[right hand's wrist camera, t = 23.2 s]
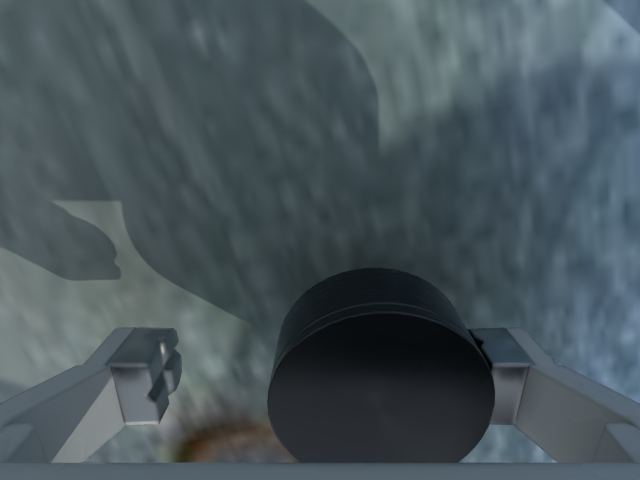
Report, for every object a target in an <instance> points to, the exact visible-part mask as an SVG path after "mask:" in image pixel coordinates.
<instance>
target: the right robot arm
mask: <svg viewBox="0 0 640 480" xmlns="http://www.w3.org/2000/svg"><path fill="white" fill-rule="evenodd" d="M467 330H468V331H469V333H470V335H471V336H472V338H473V340H474V341H475V343H476V345H477V346H478V348H479V350H480V351H481V353H482V355H483V356H484V358H485V360H486V362H487V364H488V366H489V368H490V370H491V373H492V376H493V379H494V386H495V406H494V411H493V416H492V419H491V421H490V424H501V425H515V427H516V428H517V429H519V430H520V431H521V432H522V433H523V434H525V435H526V436H527V437H528V438H529V439H530V440H532V441H533V442H534V443H535V444H536V445H538V446H539V447H540V448H541V449H542V450H543V451H545V452H546V453H547V454H548V455H549V456H551V457H552V458H553V459H554V460H555V461H557V462H558V463H82V462H84V461H85V460H86V459H87V458H88V457H89V456H91V455H92V454H93V453H94V452H95V451H97V450H98V449H99V448H100V447H101V446H103V445H104V444H105V443H106V442H107V441H108V440H110V439H111V438H112V437H113V436H114V435H116V434H117V433H118V432H119V431H120V430H122V429H123V428H124V427H125V425H139V424H159V423H160V421H161V419H162V417H163V415H164V413H165V411H166V409H167V407H168V405H169V399H168V395H170V394H171V393H173V392H174V391H176V388H177V386H178V384H179V382H180V377H181V372H182V360H181V355H180V354H179V353H178V352H177V351H176V350H175V347H176V345H177V343H178V337H177V332H176V330H175V329H174V328H142V327H138V328H136V327H120V328H116V329H115V330H114V331H113V332H112V333H111V334H110V335H109V336H108V337H107V338H106V340H105V341H104V342H103V343H102V344H101V345H100V346H99V347H98V349H97V350H96V351H95V352H94V353H93V354H92V355H91V356H90V358H89V359H88V360H87V361H86V362H85V363H84V364H83V365H76V366H74V367H72V368H70V369H68V370H66V371H64V372H62V373H60V374H58V375H56V376H54V377H52V378H50V379H48V380H46V381H44V382H42V383H40V384H38V385H36V386H34V387H32V388H30V389H28V390H26V391H24V392H22V393H20V394H18V395H16V396H14V397H12V398H10V399H8V400H6V401H4V402H2V403H0V480H640V404H639V403H637V402H635V401H633V400H631V399H629V398H627V397H625V396H623V395H621V394H619V393H617V392H615V391H613V390H611V389H609V388H607V387H605V386H603V385H601V384H599V383H597V382H595V381H593V380H591V379H590V378H588V377H586V376H584V375H582V374H580V373H578V372H576V371H574V370H572V369H570V368H568V367H566V366H564V365H557V364H556V363H555V362H554V361H553V360H552V359H551V358H550V357H549V355H548V354H547V353H546V352H545V351H544V350H543V349H542V348H541V346H540V345H539V344H538V343H537V342H536V341H535V340H534V339H533V337H532V336H531V335H530V334H529V333H528V332H527V331H526V330H525V329H524V328H522V327H508V328H476V329H467Z"/></svg>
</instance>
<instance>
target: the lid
mask: <svg viewBox="0 0 640 480" xmlns="http://www.w3.org/2000/svg"><path fill="white" fill-rule="evenodd" d="M267 404H268V414H269V418H270V422H271V426H272V428H273V430H274V433H275V435H276V437H277V438H278V440H279V442H280V443H281V445H282V446H283V447H284V449H285V450H286V451H287V452H288V453H289V454H290V455H291V456H292V457H293V458H294V459H295V460H296V461H297V462H299V463H458V462H459V461H460V460H462V459H463V458H464V457H465V456H467V455H468V454H469V453H470V452H471V451H472V450H473V449H474V447H475V446H476V445H477V444H478V443H479V441H480V440H481V439H482V437H483V436H484V434H485V432H486V430H487V428H488V427H489V424H490V421H491V419H492V416H493V411H494V406H495V386H494V379H493V376H492V373H491V370H490V368H489V366H488V364H487V362H486V360H485V358H484V356H483V355H482V353H481V351H480V350H479V348H478V346H477V345H476V343H475V341H474V340H473V338H472V336H471V335H470V333H469V331H468V330H467V328H466V326H465V325H464V323H463V321H462V320H461V318H460V316H459V315H458V313H457V311H456V310H455V308H454V306H453V305H452V304H451V302H450V301H449V300H448V298H447V297H446V296H445V295H444V294H443V293H441V292H440V291H439V290H438V289H437V288H436V287H434V286H433V285H431V284H430V283H428V282H427V281H425V280H423V279H421V278H419V277H417V276H414V275H411V274H409V273H406V272H402V271H398V270H393V269H385V268H363V269H355V270H351V271H347V272H342V273H339V274H337V275H334V276H332V277H329V278H327V279H325V280H323V281H321V282H320V283H318V284H316V285H315V286H313V287H312V288H311V289H309V290H308V291H307V292H306V293H304V294H303V295H302V296H301V297H300V298H299V299H298V300H297V301H296V303H295V304H294V305H293V306H292V308H291V309H290V311H289V312H288V314H287V316H286V318H285V320H284V322H283V325H282V327H281V331H280V335H279V340H278V345H277V350H276V355H275V360H274V365H273V370H272V375H271V381H270V385H269V390H268V401H267Z"/></svg>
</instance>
